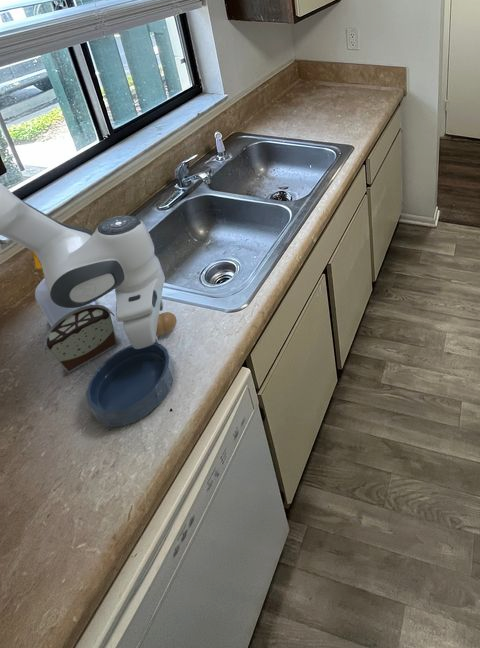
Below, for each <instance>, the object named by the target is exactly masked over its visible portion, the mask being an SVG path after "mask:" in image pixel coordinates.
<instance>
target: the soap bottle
mask: <svg viewBox="0 0 480 648" xmlns="http://www.w3.org/2000/svg"><path fill="white" fill-rule="evenodd" d="M29 251H30V252H31V254H32V257H33V259H34V260H33V261H34V266H35V270H37V271H40V270H42V276H43V277H44V278H42V280H41V281H40V282H39V283H38V285H37V286H36V287H35V290H34V299H35V300H36V302H37V304H38V306H39V308H40V310H41V311H42V313H43V315H44V317H45V319H46V321H47V322H48V324H49V326H50V328H51V327H52V326H53V325H54V324H55V323H56V322H57V321H58V320H59V319H61V318H62V317H63V316H65V315H66V314H68V313H70V312H72V311H74V310H76V309H78V308H81V307H84V306H81V307H77V308H65V307H61V306H58V305H56V304H55V303H54V302H53V301H52V299H51V297H50V293H49V290H48V287H47V283H46V279H45V275H44V272H43V268H42V266H41V264H40V262H39V260H38V257H37V255H36V254H35V253H34V252H33V251H32V250H30V249H29ZM95 304H96V300H95V301H94V302H92V303H90V304H87V305H95ZM87 305H85V306H87Z"/></svg>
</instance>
